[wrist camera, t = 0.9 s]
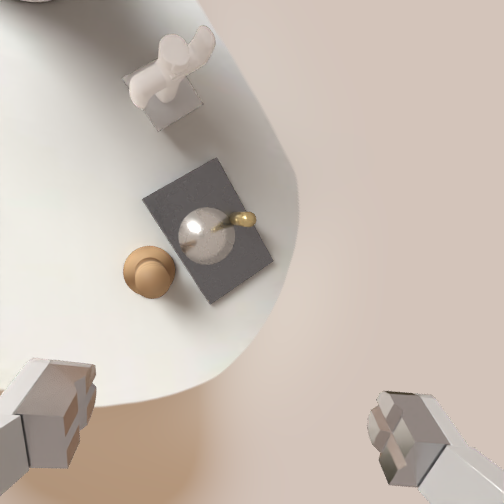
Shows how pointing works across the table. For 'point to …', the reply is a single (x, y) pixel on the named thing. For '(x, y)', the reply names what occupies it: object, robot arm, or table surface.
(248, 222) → the dowel
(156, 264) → the flange hub
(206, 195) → the base plate
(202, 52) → the figurine
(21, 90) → the table surface
